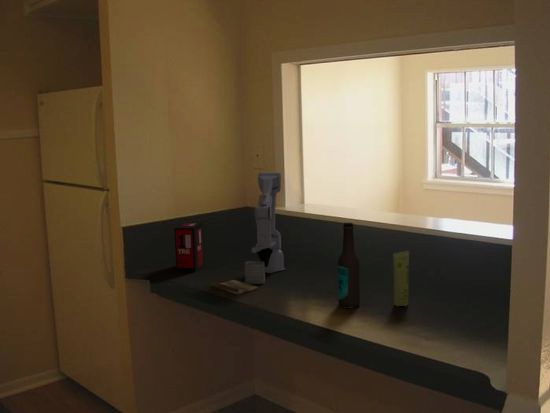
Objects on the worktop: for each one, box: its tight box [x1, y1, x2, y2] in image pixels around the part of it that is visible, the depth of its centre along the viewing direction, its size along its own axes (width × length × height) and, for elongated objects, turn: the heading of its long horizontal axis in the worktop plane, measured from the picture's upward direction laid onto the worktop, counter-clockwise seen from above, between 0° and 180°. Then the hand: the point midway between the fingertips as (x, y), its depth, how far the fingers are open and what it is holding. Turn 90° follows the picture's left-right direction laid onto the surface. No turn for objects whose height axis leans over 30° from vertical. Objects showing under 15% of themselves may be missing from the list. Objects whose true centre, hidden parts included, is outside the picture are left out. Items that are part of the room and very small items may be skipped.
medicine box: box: [244, 260, 266, 285], centre depth 254 cm, size 8×4×9 cm, turn 84°
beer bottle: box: [337, 222, 361, 309], centre depth 218 cm, size 8×8×30 cm
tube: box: [392, 250, 410, 307], centre depth 218 cm, size 6×5×20 cm
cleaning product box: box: [173, 221, 206, 273], centre depth 284 cm, size 16×9×20 cm, turn 172°
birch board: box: [212, 279, 259, 295], centre depth 248 cm, size 11×16×2 cm
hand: (265, 266), depth 258 cm, fingers closed
